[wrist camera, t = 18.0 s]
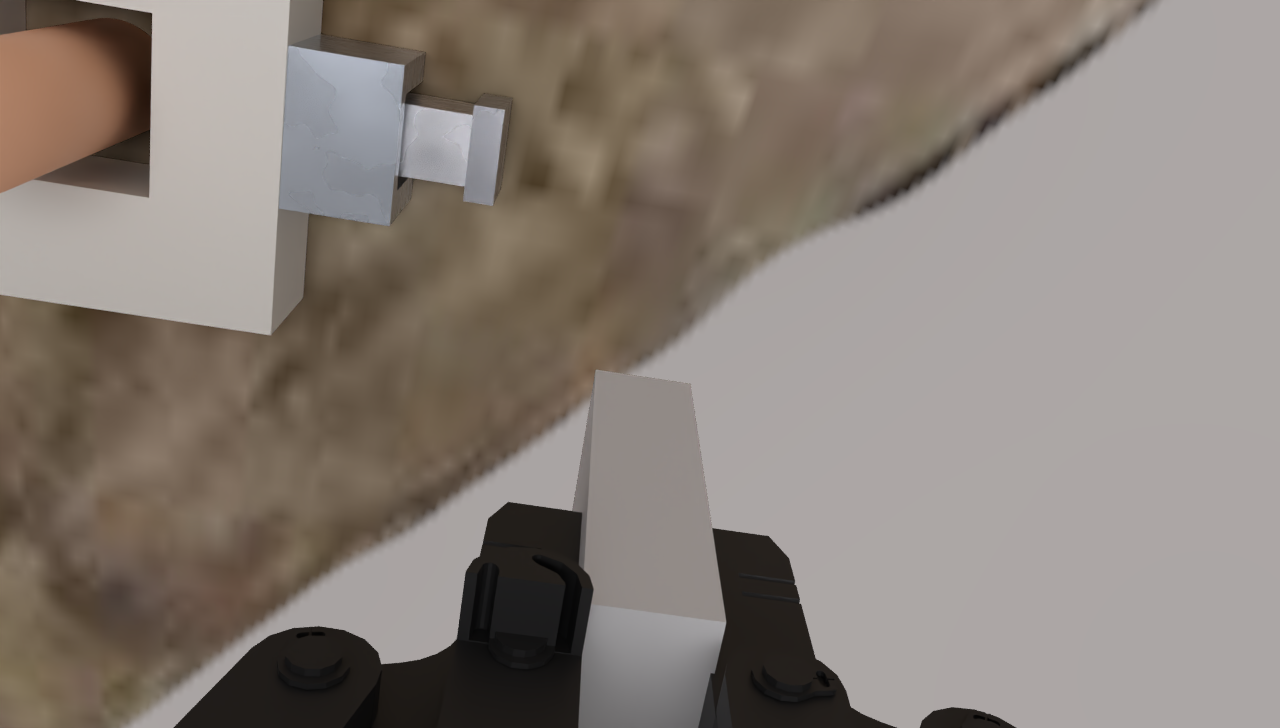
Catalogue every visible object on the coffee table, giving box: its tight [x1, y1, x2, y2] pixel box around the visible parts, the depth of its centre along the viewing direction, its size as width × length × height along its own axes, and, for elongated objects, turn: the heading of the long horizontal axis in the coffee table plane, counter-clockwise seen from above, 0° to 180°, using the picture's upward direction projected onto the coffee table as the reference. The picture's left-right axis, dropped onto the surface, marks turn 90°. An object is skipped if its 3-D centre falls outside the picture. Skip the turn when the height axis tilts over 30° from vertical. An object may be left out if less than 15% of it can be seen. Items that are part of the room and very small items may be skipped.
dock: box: [0, 0, 323, 335], centre depth 38 cm, size 14×14×4 cm
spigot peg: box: [0, 18, 152, 193], centre depth 34 cm, size 4×4×12 cm
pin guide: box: [279, 34, 426, 226], centre depth 38 cm, size 4×5×4 cm
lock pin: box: [398, 92, 512, 206], centre depth 39 cm, size 10×3×3 cm, turn 80°
